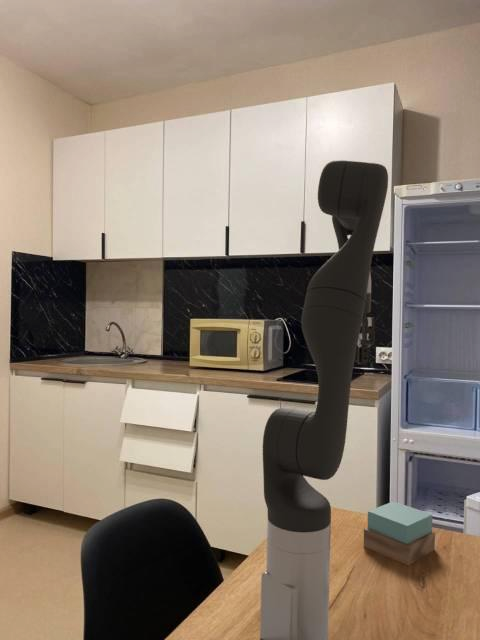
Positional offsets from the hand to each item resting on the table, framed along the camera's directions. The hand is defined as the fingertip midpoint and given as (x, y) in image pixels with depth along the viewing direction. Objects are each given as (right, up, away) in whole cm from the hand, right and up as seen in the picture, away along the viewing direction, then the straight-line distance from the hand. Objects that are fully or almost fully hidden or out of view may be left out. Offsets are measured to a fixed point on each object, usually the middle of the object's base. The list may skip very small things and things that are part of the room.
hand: (352, 362), depth 115 cm
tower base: (+6, -37, -13) cm, 40 cm away
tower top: (+7, -33, -13) cm, 36 cm away
